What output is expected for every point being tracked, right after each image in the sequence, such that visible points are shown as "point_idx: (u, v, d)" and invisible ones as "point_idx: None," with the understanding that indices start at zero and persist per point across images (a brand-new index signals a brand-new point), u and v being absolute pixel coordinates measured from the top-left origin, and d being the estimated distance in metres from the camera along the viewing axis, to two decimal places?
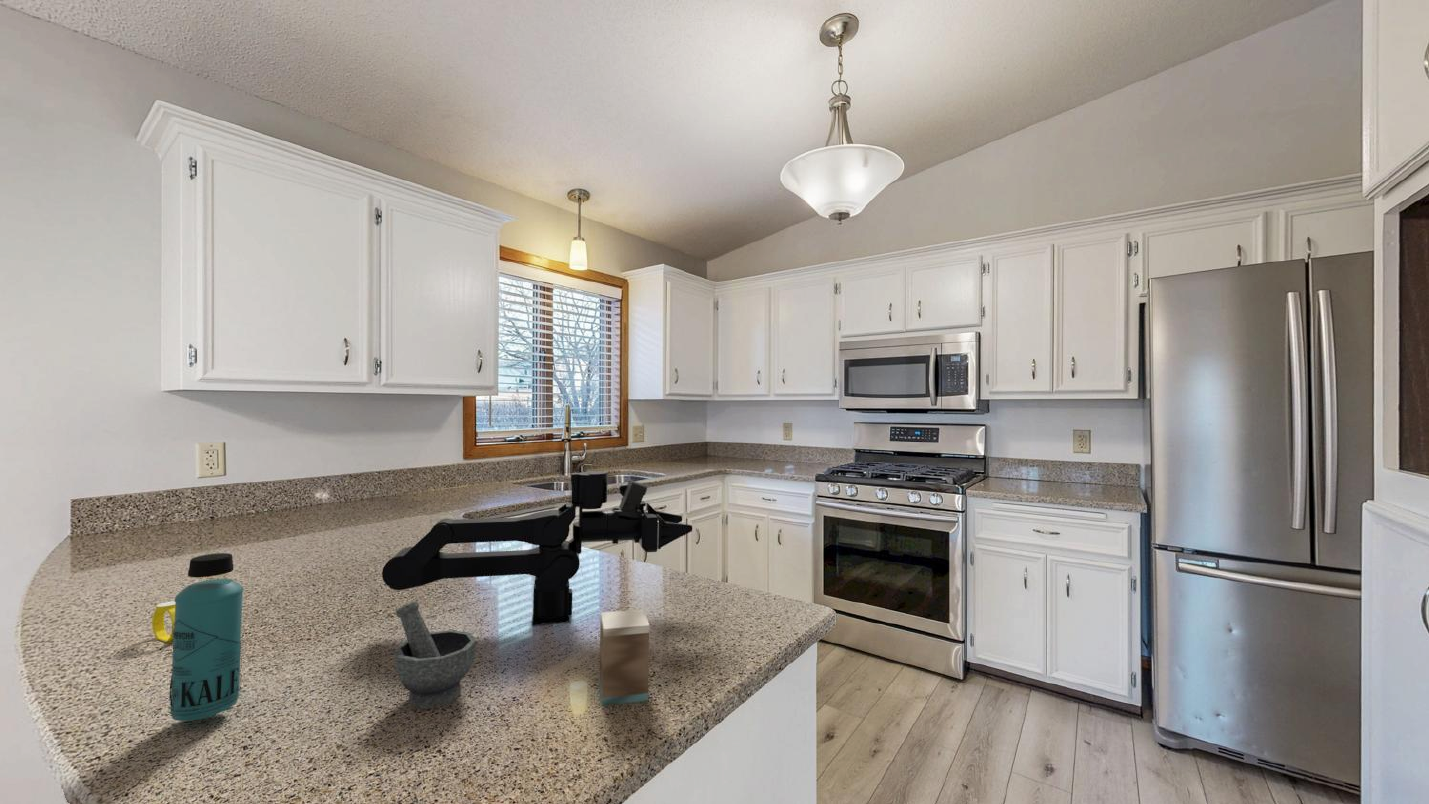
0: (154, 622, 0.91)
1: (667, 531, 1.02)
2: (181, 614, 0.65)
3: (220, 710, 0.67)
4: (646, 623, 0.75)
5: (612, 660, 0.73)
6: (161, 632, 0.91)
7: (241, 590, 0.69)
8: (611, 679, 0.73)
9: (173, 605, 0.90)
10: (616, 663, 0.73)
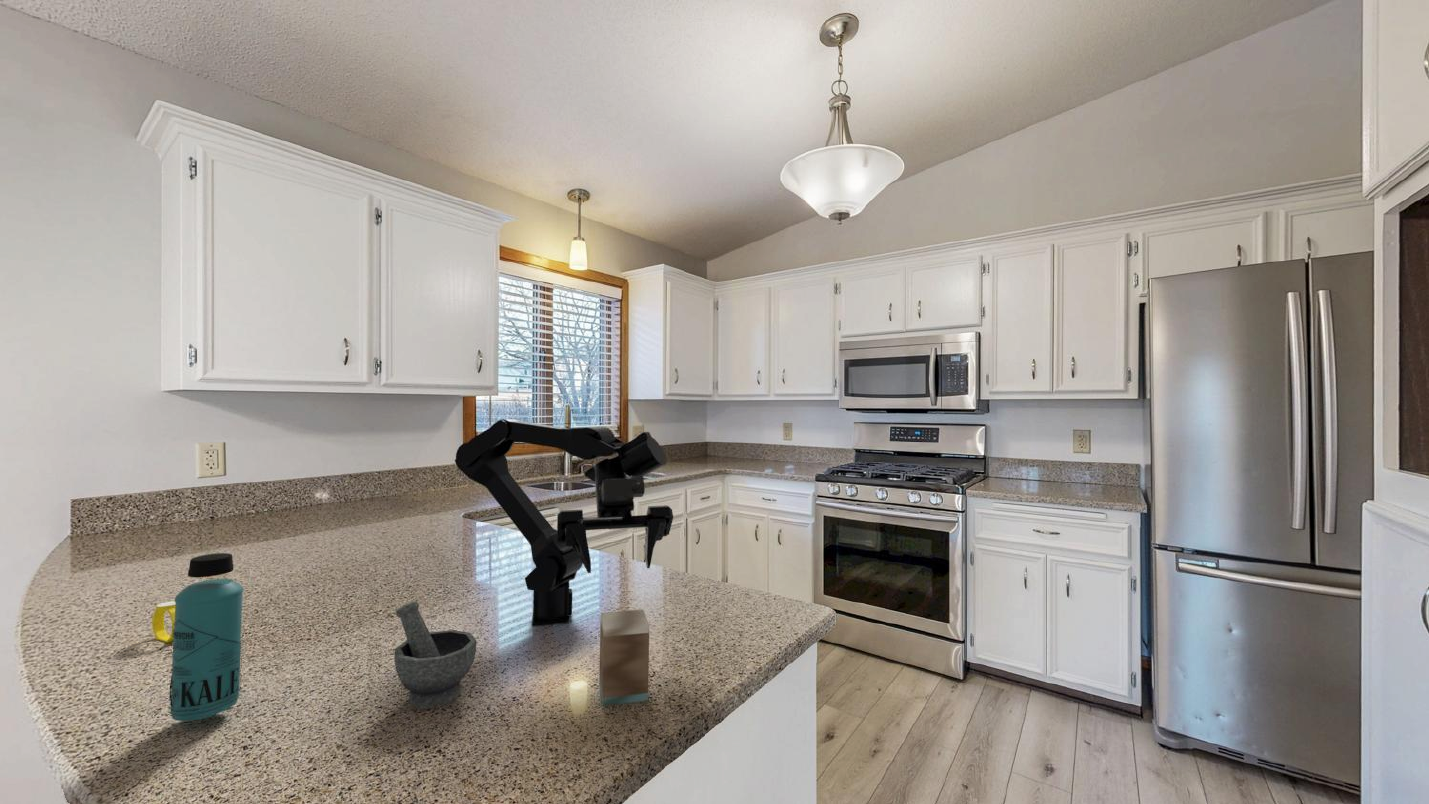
0: (154, 622, 0.91)
1: None
2: (181, 614, 0.65)
3: (220, 710, 0.67)
4: (646, 623, 0.75)
5: (612, 660, 0.73)
6: (161, 632, 0.91)
7: (241, 590, 0.69)
8: (611, 679, 0.73)
9: (173, 605, 0.90)
10: (615, 663, 0.73)
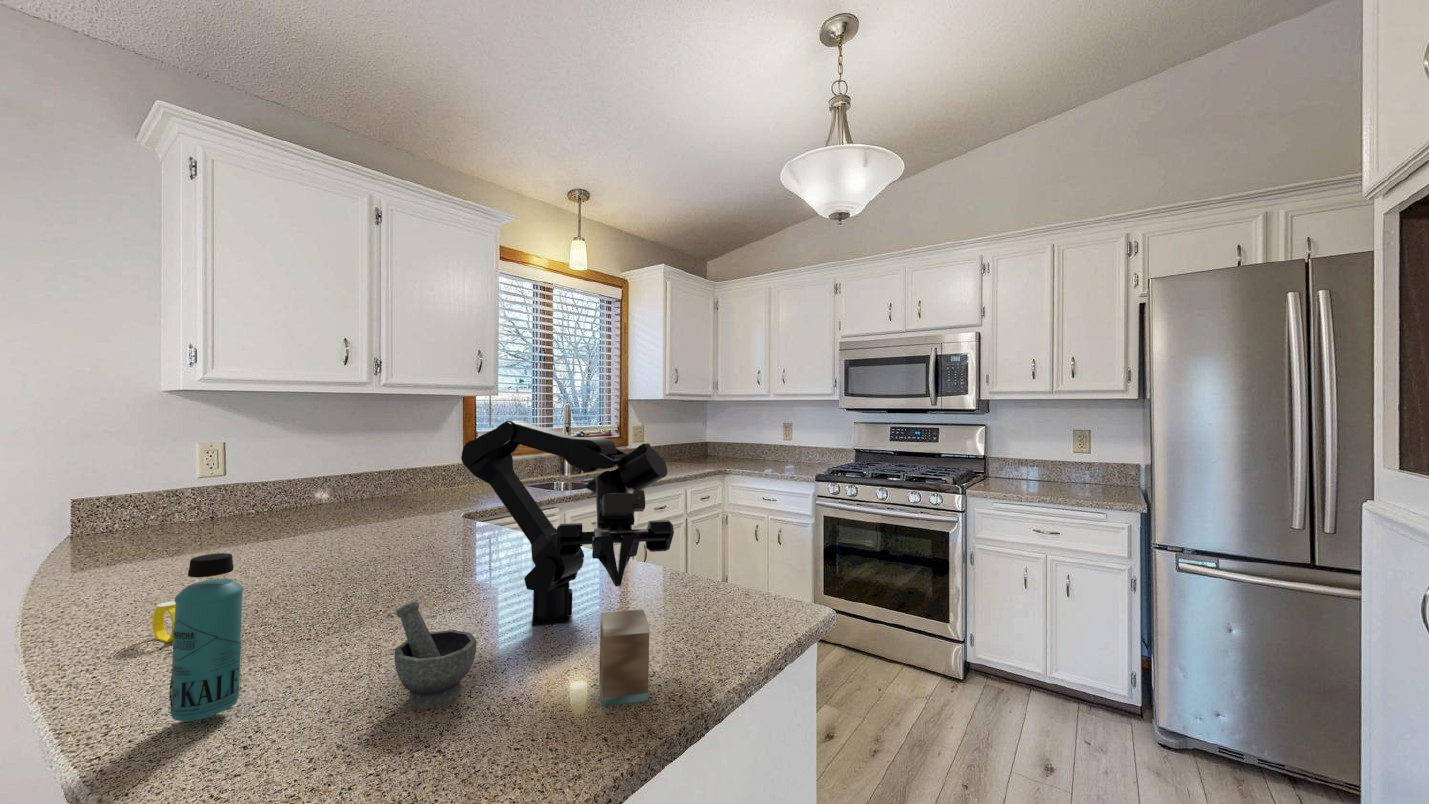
0: (154, 622, 0.91)
1: None
2: (181, 614, 0.65)
3: (220, 710, 0.67)
4: (646, 623, 0.75)
5: (612, 660, 0.73)
6: (161, 632, 0.91)
7: (241, 590, 0.69)
8: (611, 679, 0.73)
9: (173, 605, 0.90)
10: (616, 663, 0.73)
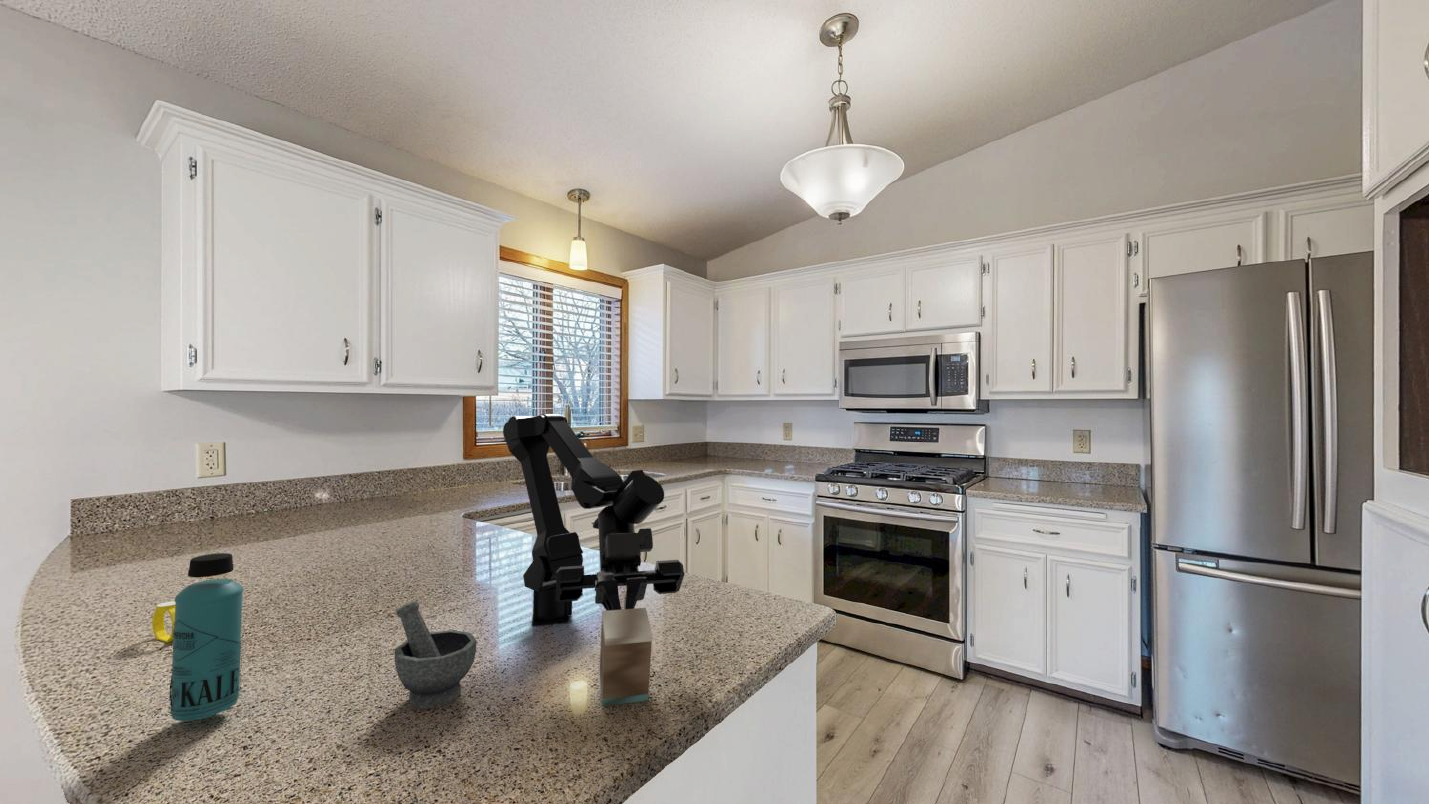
0: (154, 622, 0.91)
1: None
2: (181, 614, 0.65)
3: (220, 710, 0.67)
4: (649, 631, 0.72)
5: (613, 666, 0.71)
6: (161, 632, 0.91)
7: (241, 590, 0.69)
8: (611, 683, 0.72)
9: (173, 605, 0.90)
10: (616, 669, 0.72)
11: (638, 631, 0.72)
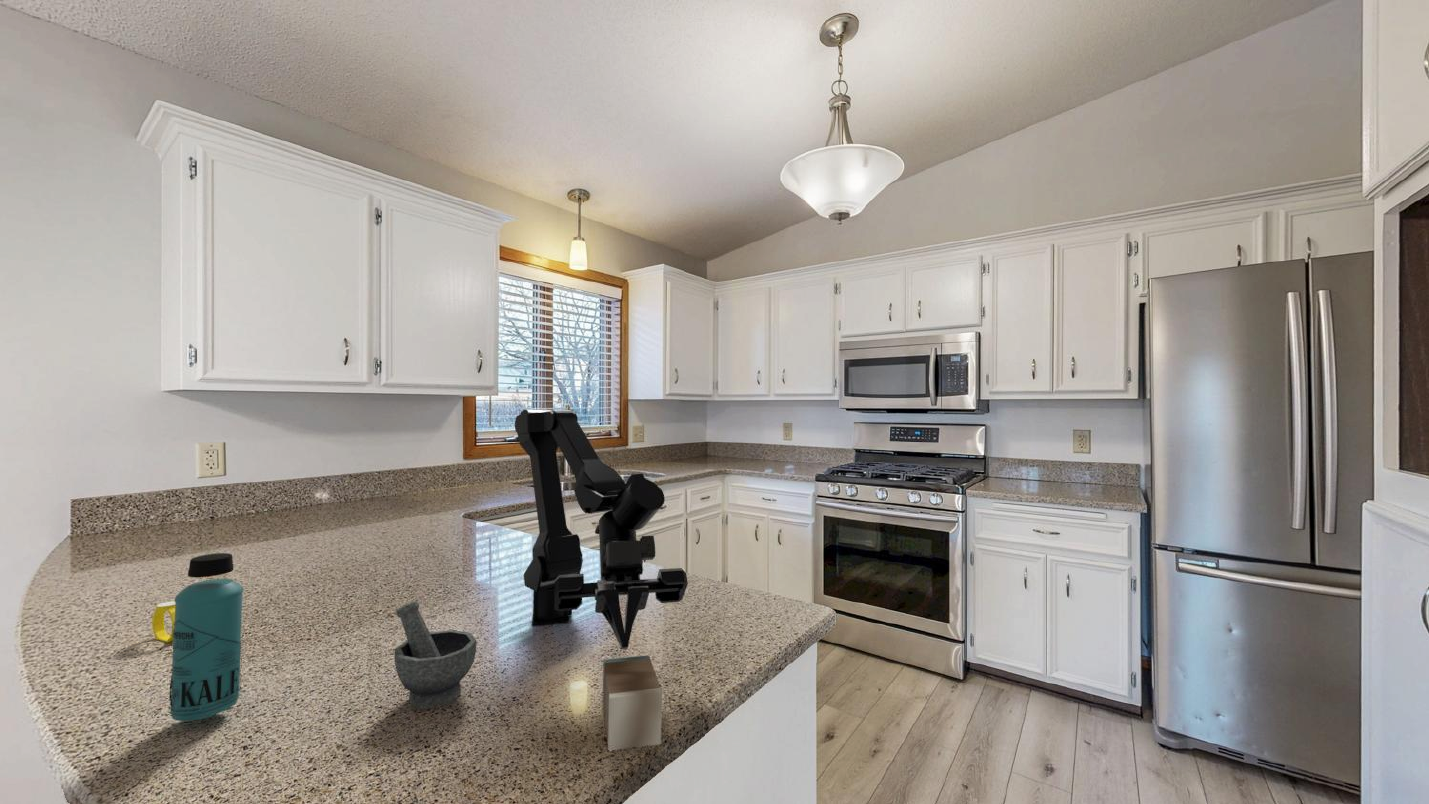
0: (154, 622, 0.91)
1: None
2: (181, 614, 0.65)
3: (220, 710, 0.67)
4: (658, 738, 0.64)
5: None
6: (161, 632, 0.91)
7: (241, 590, 0.69)
8: None
9: (173, 605, 0.90)
10: None
11: (646, 738, 0.64)
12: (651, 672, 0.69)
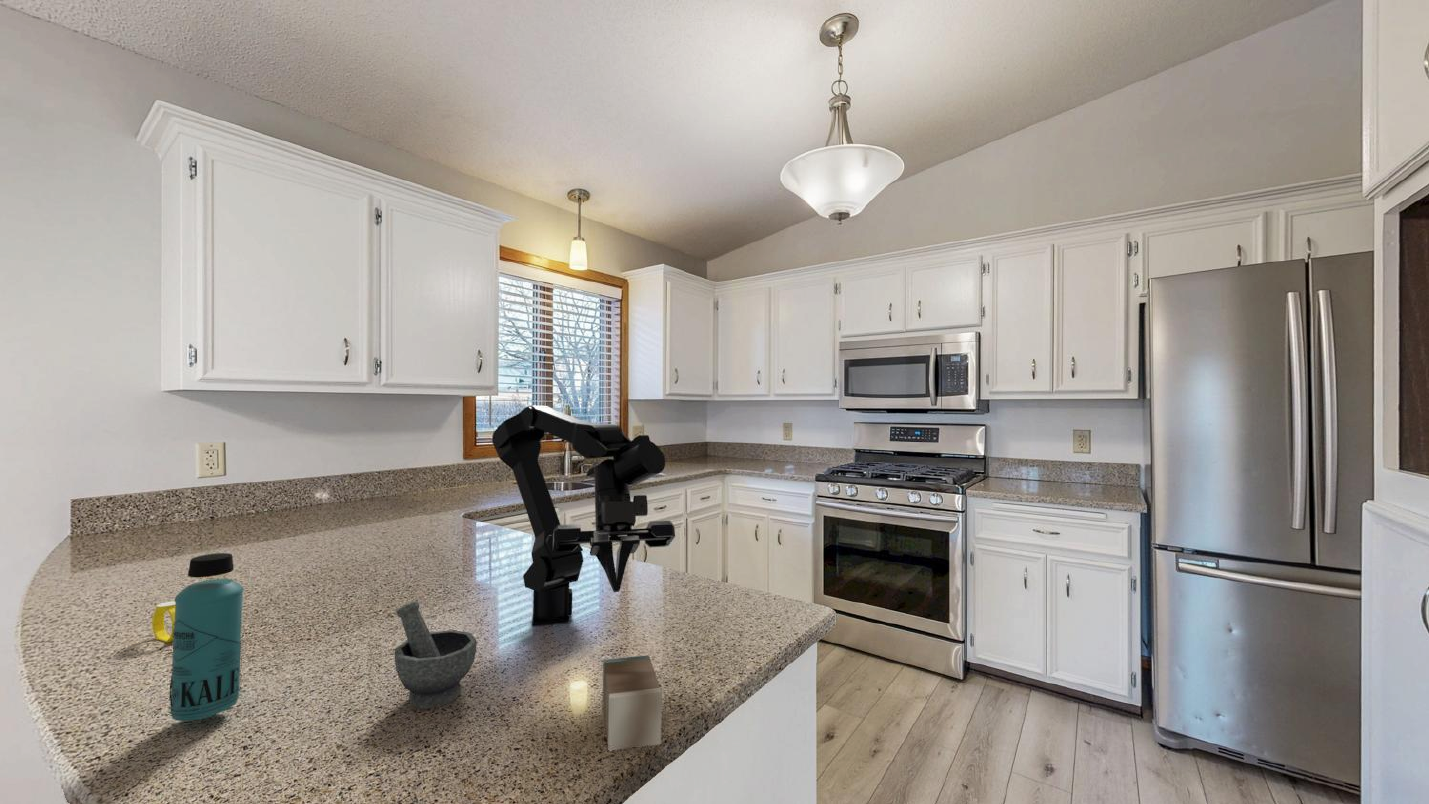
0: (154, 622, 0.91)
1: None
2: (181, 614, 0.65)
3: (220, 710, 0.67)
4: (658, 738, 0.64)
5: None
6: (161, 632, 0.91)
7: (241, 590, 0.69)
8: None
9: (173, 605, 0.90)
10: None
11: (646, 738, 0.64)
12: (651, 672, 0.69)
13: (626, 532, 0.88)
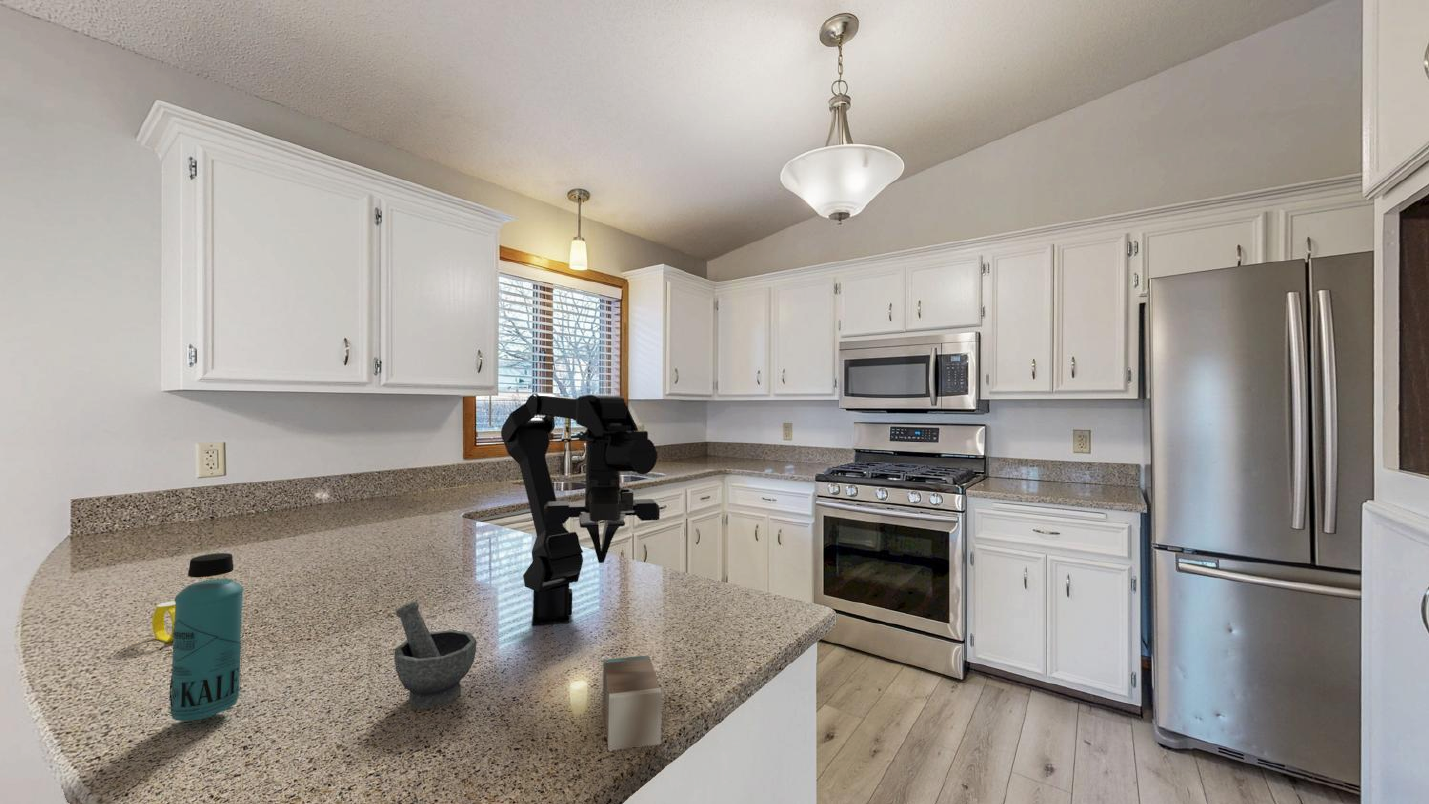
0: (154, 622, 0.91)
1: None
2: (181, 614, 0.65)
3: (220, 710, 0.67)
4: (658, 738, 0.64)
5: None
6: (161, 632, 0.91)
7: (241, 590, 0.69)
8: None
9: (173, 605, 0.90)
10: None
11: (646, 738, 0.64)
12: (651, 672, 0.69)
13: None
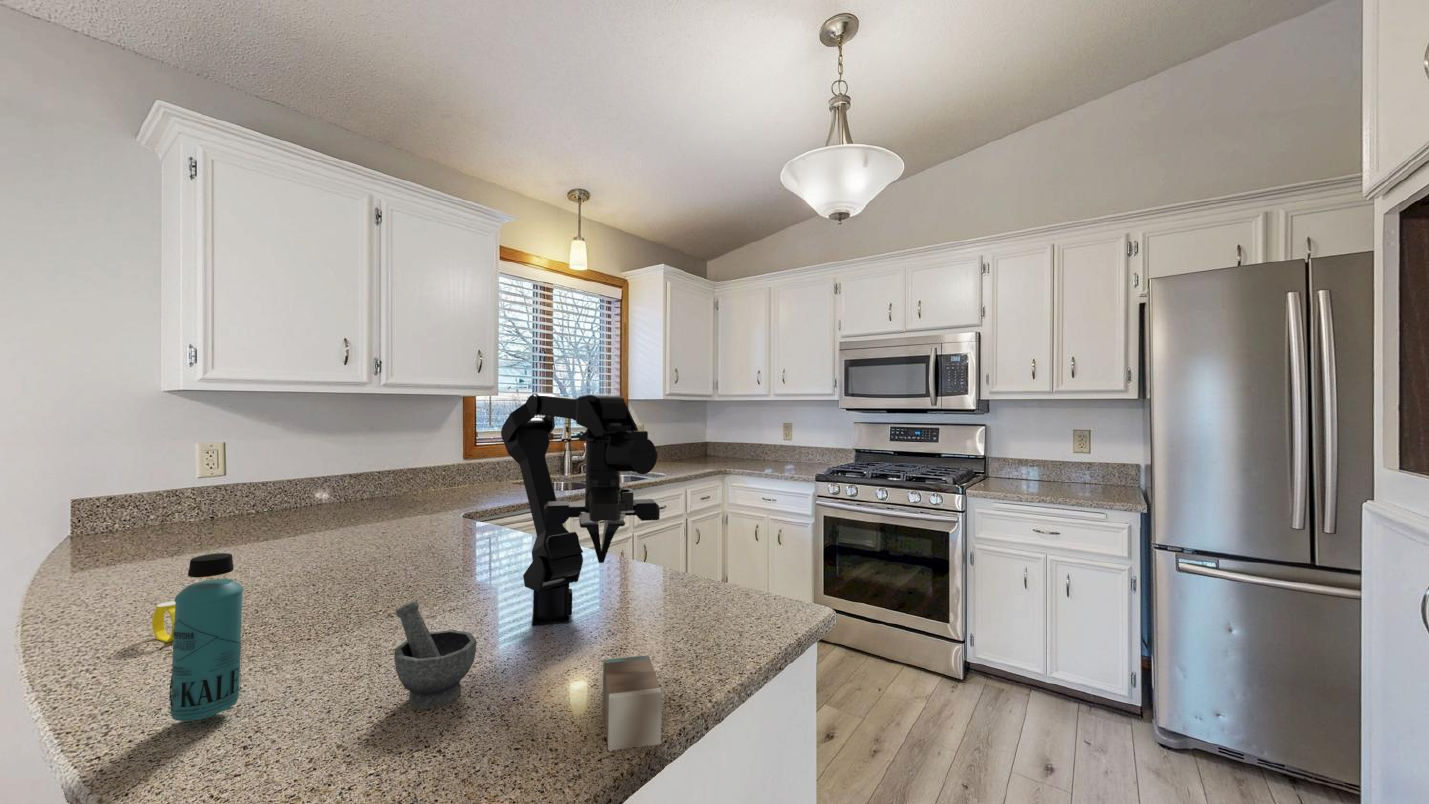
0: (154, 622, 0.91)
1: None
2: (181, 614, 0.65)
3: (220, 710, 0.67)
4: (658, 738, 0.64)
5: None
6: (161, 632, 0.91)
7: (241, 590, 0.69)
8: None
9: (173, 605, 0.90)
10: None
11: (646, 738, 0.64)
12: (650, 672, 0.69)
13: None
